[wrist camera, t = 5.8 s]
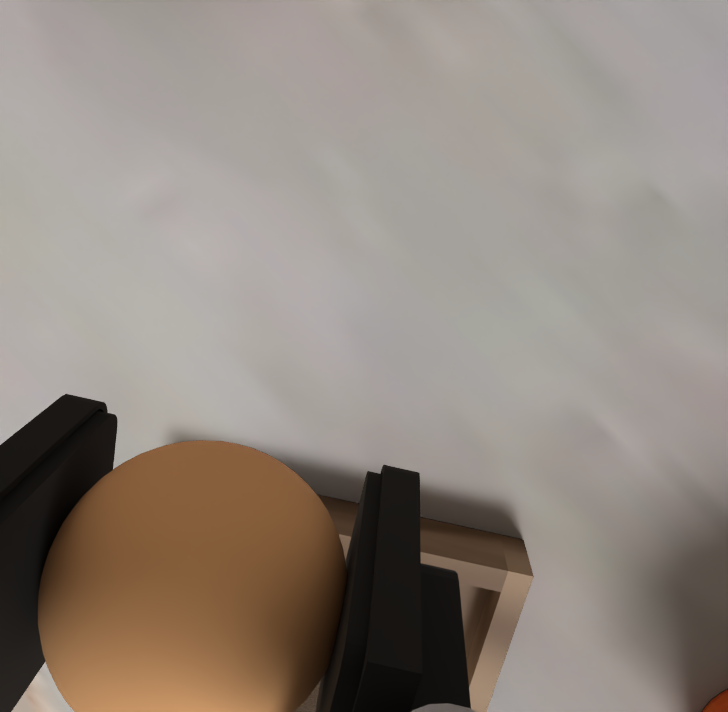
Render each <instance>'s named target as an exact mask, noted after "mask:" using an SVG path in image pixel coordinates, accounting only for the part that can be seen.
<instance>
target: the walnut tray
mask: <svg viewBox="0 0 728 712" xmlns="http://www.w3.org/2000/svg"><path fill="white" fill-rule="evenodd" d="M317 496H318V497H319V498H320V499H321V501H322V503H323V504H324V506H325V507H326V509H327V510H328V512H329V514H330V516H331V518H332V521H333V523H334V525H335V527H336V529H337V532H338V534H339V537H340V540H341V543H342V547H343V550H344V556H345V561H346V557H347V553H348V549H349V544H350V540H351V536H352V532H353V528H354V524H355V520H356V516H357V511H358V507H359V504H357V503H353V502H348V501H344V500H339V499H335V498H330V497H326V496H321V495H317ZM420 548H421V563H423V564H427V565H432V566H436V567H440V568H445V569H449V570H454V571H456V572H457V573H458V578H459V586H460V597H461V608H462V618H463V629H464V639H465V650H466V660H467V671H468V682H469V692H470V703H471V709H472V710H474V711H476V712H486V711H487V708H488V705H489V703H490V700H491V697H492V694H493V691H494V688H495V685H496V683H497V680H498V677H499V674H500V671H501V668H502V665H503V663H504V660H505V657H506V654H507V651H508V648H509V645H510V643H511V640H512V637H513V634H514V631H515V628H516V625H517V623H518V620H519V617H520V614H521V611H522V608H523V605H524V603H525V600H526V597H527V594H528V591H529V588H530V585H531V583H532V580H533V577H534V576H533V573H532V569H531V566H530V562H529V558H528V555H527V551H526V547H525V544H524V540H522V539H517V538H513V537H508V536H504V535H499V534H495V533H490V532H485V531H481V530H476V529H472V528H467V527H463V526H458V525H453V524H449V523H444V522H440V521H435V520H431V519H426V518H421V517H420Z"/></svg>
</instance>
